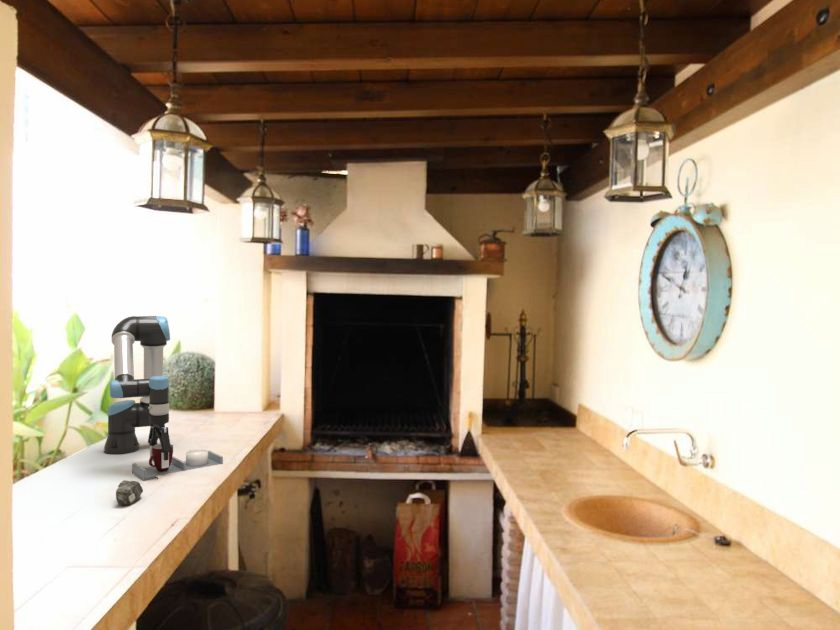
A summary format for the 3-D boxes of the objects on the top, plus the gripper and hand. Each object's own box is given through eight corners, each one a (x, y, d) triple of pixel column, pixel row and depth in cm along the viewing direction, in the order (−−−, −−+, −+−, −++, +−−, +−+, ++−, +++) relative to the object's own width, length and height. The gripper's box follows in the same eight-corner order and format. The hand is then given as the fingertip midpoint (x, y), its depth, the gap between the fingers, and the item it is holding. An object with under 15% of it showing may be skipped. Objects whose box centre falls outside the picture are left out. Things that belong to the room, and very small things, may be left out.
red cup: (159, 475, 250) (159, 451, 249) (143, 473, 252) (143, 449, 252) (177, 468, 260) (177, 445, 259) (161, 466, 262) (161, 443, 262)
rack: (132, 473, 257) (132, 463, 257) (209, 459, 279) (209, 450, 279) (143, 480, 246) (143, 470, 246) (222, 466, 269) (222, 456, 268)
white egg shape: (182, 463, 268) (182, 451, 268) (202, 459, 274) (202, 448, 274) (190, 467, 262) (190, 455, 262) (211, 463, 268) (211, 452, 268)
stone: (142, 514, 220) (134, 494, 215) (120, 519, 219) (112, 498, 214) (146, 487, 232) (139, 467, 227) (126, 491, 230) (118, 471, 225)
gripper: (139, 410, 263) (139, 459, 264) (160, 419, 245) (160, 472, 245) (157, 408, 268) (157, 456, 269) (179, 416, 250) (179, 468, 251)
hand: (159, 464), depth 257 cm, fingers open, 13 cm apart
